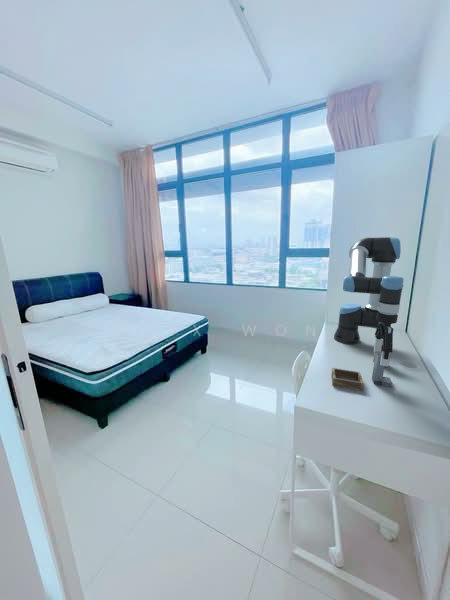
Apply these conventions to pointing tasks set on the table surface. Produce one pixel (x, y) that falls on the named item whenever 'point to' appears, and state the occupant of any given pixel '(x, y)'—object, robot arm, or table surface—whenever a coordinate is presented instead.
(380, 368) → the bracket
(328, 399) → the table surface
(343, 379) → the wooden frame
